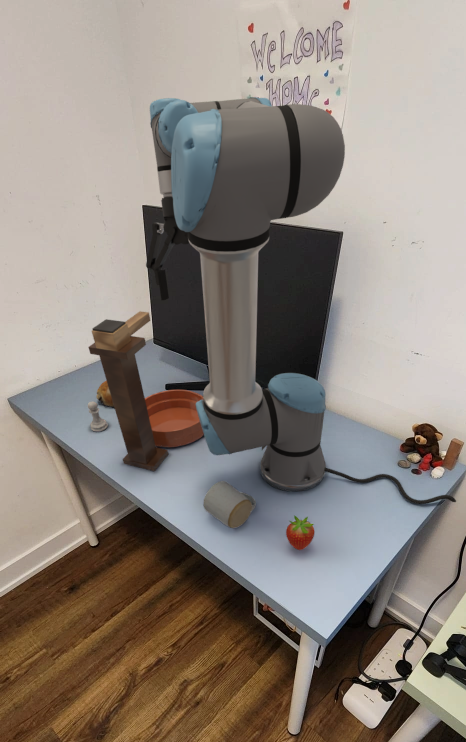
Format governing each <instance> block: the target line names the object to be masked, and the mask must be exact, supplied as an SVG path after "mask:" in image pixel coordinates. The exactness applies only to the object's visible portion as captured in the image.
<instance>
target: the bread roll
mask: <svg viewBox="0 0 466 742" xmlns="http://www.w3.org/2000/svg"><path fill="white" fill-rule="evenodd" d="M96 400H97V401H99V402H100V404H102V405H103V406H106V407H110V408H114V404H113V401H112V398H111V394H110V391H109V387H108V384H107V380H106V379H105V380H104V381H103V382H102V383H100V385H99V387H98V388H97V390H96Z"/></svg>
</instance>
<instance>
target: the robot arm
mask: <svg viewBox="0 0 466 742" xmlns="http://www.w3.org/2000/svg"><path fill="white" fill-rule="evenodd" d="M149 115H150V122H149V124H150V128H151V133H152V141H153V147H154V154H155V161H156V170H157V178H158V186H159V194H160V195H162V196H163V197H161V200H160V202H161V209H162V215H163V219H164V221H163V223H161V222H153V223H152V224H151V228H152V229H151V230H152V236H151V240H150V244H149V249H148V253H147V258H146V262H145V267H146V268H147V269H149V270H153V273H154V279H155V283H156V286H159V287H158V288H159V293H160V299H161V301H166V300H168V299H170V295H169V289H168V281H167V274H166V269H163V267H164V265H165V263H166V261H167V259H168V257H169V255H170V253H171V251H172V249H173V247H174V246H178V245H189V244H190V246H192V248H193V249H195V250H196V251H197V252H198V253H199V258H200V271H201V285H202V294H203V295H202V297H203V309H204V310H203V311H204V323H205V335H206V336H205V338H206V348H207V349H206V350H207V363H208V375H209V376H208V377H209V383H208V384H207V385H206V386H205V388H204V390H203V393H202V396H203V400H200V401H198V402H196V409H197V413H198V416H199V420H200V423H201V427H202V430H203V433H204V435H203V436H204V439H205V442H206V445H207V448H208V451H209V452H210V453H211V455H214V456H224V455H232V454H236V453H240V452H243V451H249V450H253V449H258V448H261V451H263V450H264V449H265V450H264V452H263V455H262V457H261V459H260V474H261V477H262V478H263V480H264V481H265V482H266V483H267V484H268V485H270V486H271V487H273V488H275V489H277V490H281V491H286V492H303V491H308V490H309V489H312V488H314V487H316V486H318V485H319V484H320V483H321V482H322V481H323V479H324V478H325V474H326V473H329V474H332V475H334V476H338V477H341V478H343V479H346V480H348V481H351V482H354V483H358V484H367V483H370V482H373V481H376V480H379V479H388V480H391V481H392V482H394V484H395V485H396V487H397V488H398V490H399V492H400V494H401V496H402V497H403V499H405V500H407V501H408V502H410V503H412V504H416V505H428V504H431V503H435V502H439V501H441V500H448V501H450V502H451V503H456V502H457V500H456V498H455V497H454V496H451V495H450V494H449V495H448V494H440V495H438V496H434V497H430V498H428V499H415V498H413V497H411V496H409V494H407V492H406V491H405V489H404V488H403V485H402V483H401V482H400V481H399V480H398V478H397V477H395V476H393V475H390V474H388V473H379V474H375V475H373V476H370V477H367V478H363V479H362V478H356V477H353V476H351V475H348V474H346V473H343V472H341V471H338V470H335V469H331V468H328V467H327V464H326V460H325V456H324V452H323V449H322V445H321V444H322V434H323V426H324V419H325V411H326V409H327V405H326V390H325V388H324V386H323V384H321V382H319V381H318V380H317V379H315V378H313V377H311V376H308V375H305V374H301V373H296V372H285V373H279V374H276V375H274V376H273V377H272V378H271V379H270V380H269V383H268V384H267V388H262V387H261V385H260V384H259V383H258V382H256V368H257V366H256V365H257V363H256V361H257V330H258V329H257V325H258V289H259V288H258V284H259V282H258V280H259V252H260V251H261V249H263V248H264V247H265V246H266V244H268V243H269V242H270V241H269V240H270V234H271V233H270V232H271V221H274V220H275V221H276V220H282V219H288V218H295V217H298V216H301V215H304V214H307V213H309V212H310V211H311V210H313V209H315V208H316V207H318V206H319V205H320V204H322V202H324V200H325V199H326V198H328V197H329V196H330V194H331V193H332V191H333V189H334V188H335V187H336V185H337V183H338V180H339V179H340V177H341V174H342V171H343V167H344V163H345V157H346V156H345V154H346V145H345V139H344V134H343V131H342V127H341V126H340V123H339V122H338V121H337V120H336V119H335V117H334V116H333V115H332V114H331V113H329V112H328V111H326V110H325V109H323V108H320V107H317V106H314V105H310V104H302V103H301V104H300V103H295V104H294V103H291V104H283V105H272V102H271V100H270V99H269V98H267V97H257V96H251V97H248V98H238V99H227V100H212V101H211V100H210V101H199V102H195V101H194V102H189V101H187V100H184V99H181V98H175V97H166V98H159V99H156V100H154V101H153V100H152V102H151V103H150V105H149ZM164 232H165V233H166V235H167V236H166V238H165V241H164V244H163V246H162V248H161V250H159V249H160V245H161V242H162V237H163V234H164ZM159 251H160V252H159Z"/></svg>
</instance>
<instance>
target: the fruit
mask: <svg viewBox="0 0 466 742" xmlns="http://www.w3.org/2000/svg"><path fill="white" fill-rule="evenodd" d="M293 519H294V521H292V520H289V524H288V525H287V527H286V529H285V536H286V539H287V541H288V543H289V544H290V545H291V546H292V547H293V549H295V550H297V551H303V550H304V549H306V548H307V547H308V546H310V545H311V543H312V541H313V540H314V538H315V533H316V531H315V527H314V525H315V523H311V522H309V521H308V519H309V516H306V517H304V518H303V519H300V518H299V517H298V516H296V515H293Z"/></svg>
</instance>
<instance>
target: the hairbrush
mask: <svg viewBox="0 0 466 742" xmlns="http://www.w3.org/2000/svg"><path fill="white" fill-rule="evenodd" d="M149 322H151V316H150V312H149V311H141V310H139V311H138V312H137V313H135V314H134V315H133V316H131V317H130V318H128V319H127V320H126V321H122V320H116V319H104V320H103V321H101V322H100V323H98V324H97V325H95V326H94V327H92V330H91V334H92V335H91V336H92V338H93V341H94V343H95V345H96V348H99V349H105V350H112V351H119V350H120V349H121V348H122V347H124V346H125V345H126V344H127V343H129V342H130V341H131V338H130V336H133V335H134V334H135V333H137V332H138V331H139V330H140V329H141V328H143V327H144V326H146V325H147V324H148V323H149Z"/></svg>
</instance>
